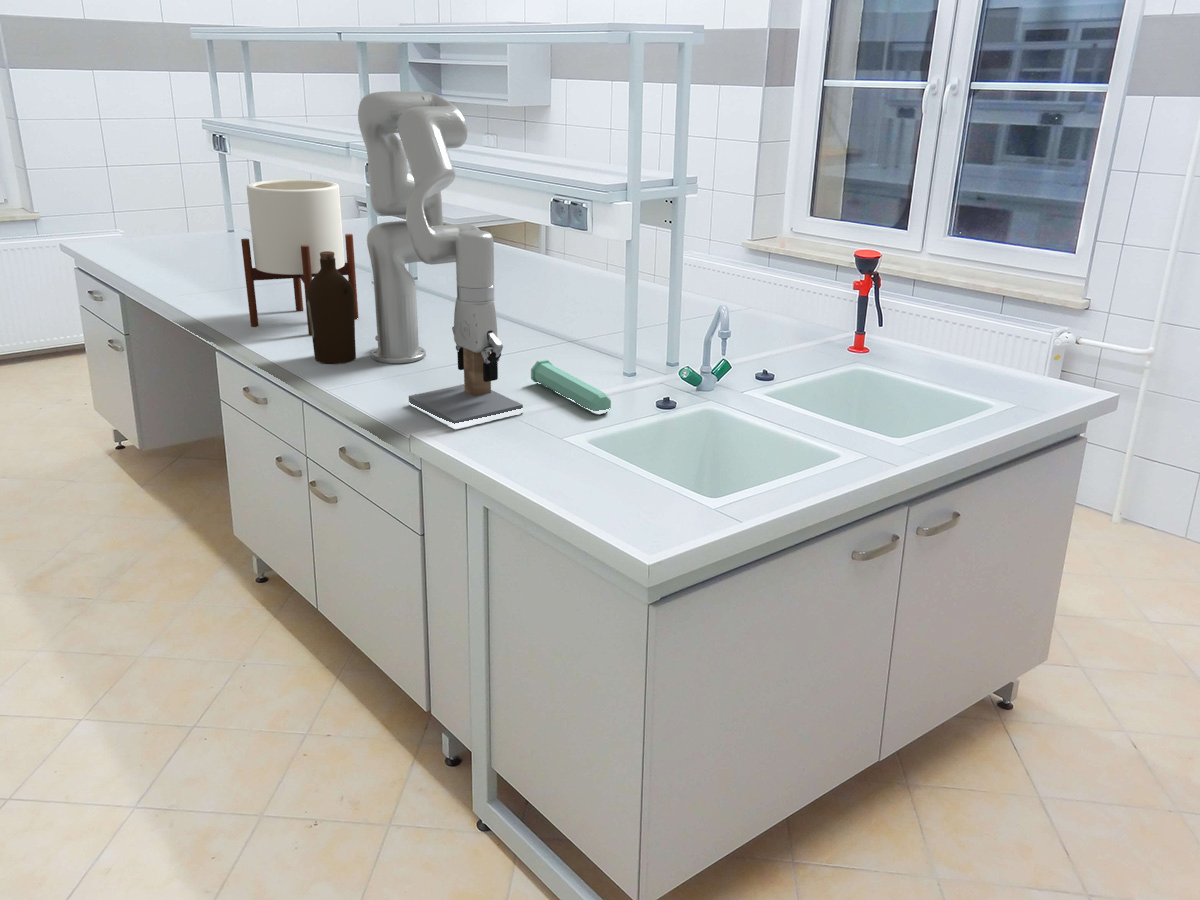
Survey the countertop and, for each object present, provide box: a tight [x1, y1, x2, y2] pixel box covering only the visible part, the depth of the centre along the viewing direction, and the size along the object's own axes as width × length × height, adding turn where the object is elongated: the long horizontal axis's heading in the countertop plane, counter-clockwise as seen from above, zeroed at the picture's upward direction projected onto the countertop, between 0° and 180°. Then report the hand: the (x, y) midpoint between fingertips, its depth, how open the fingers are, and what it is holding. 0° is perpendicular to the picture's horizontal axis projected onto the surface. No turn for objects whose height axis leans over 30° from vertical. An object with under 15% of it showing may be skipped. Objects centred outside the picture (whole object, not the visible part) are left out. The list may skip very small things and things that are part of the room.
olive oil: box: [306, 251, 357, 365], centre depth 226 cm, size 11×11×25 cm
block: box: [463, 346, 492, 396], centre depth 202 cm, size 4×4×10 cm
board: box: [408, 384, 524, 424], centre depth 200 cm, size 18×16×2 cm
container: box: [530, 359, 612, 411], centre depth 207 cm, size 6×6×25 cm
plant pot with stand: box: [240, 178, 359, 337], centre depth 253 cm, size 22×22×36 cm
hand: (477, 374), depth 203 cm, fingers open, 9 cm apart
